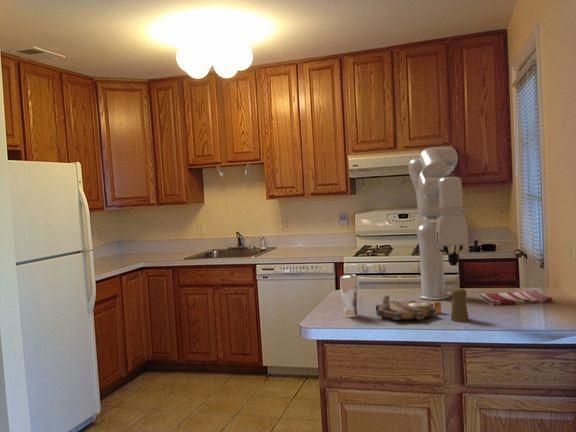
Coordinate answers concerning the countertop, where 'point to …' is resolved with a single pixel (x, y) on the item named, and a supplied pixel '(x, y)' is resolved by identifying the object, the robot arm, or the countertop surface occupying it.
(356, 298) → the beer glass
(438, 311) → the orange wooden block
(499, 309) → the countertop surface
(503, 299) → the dish towel
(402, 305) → the sprocket wheel
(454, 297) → the cork
